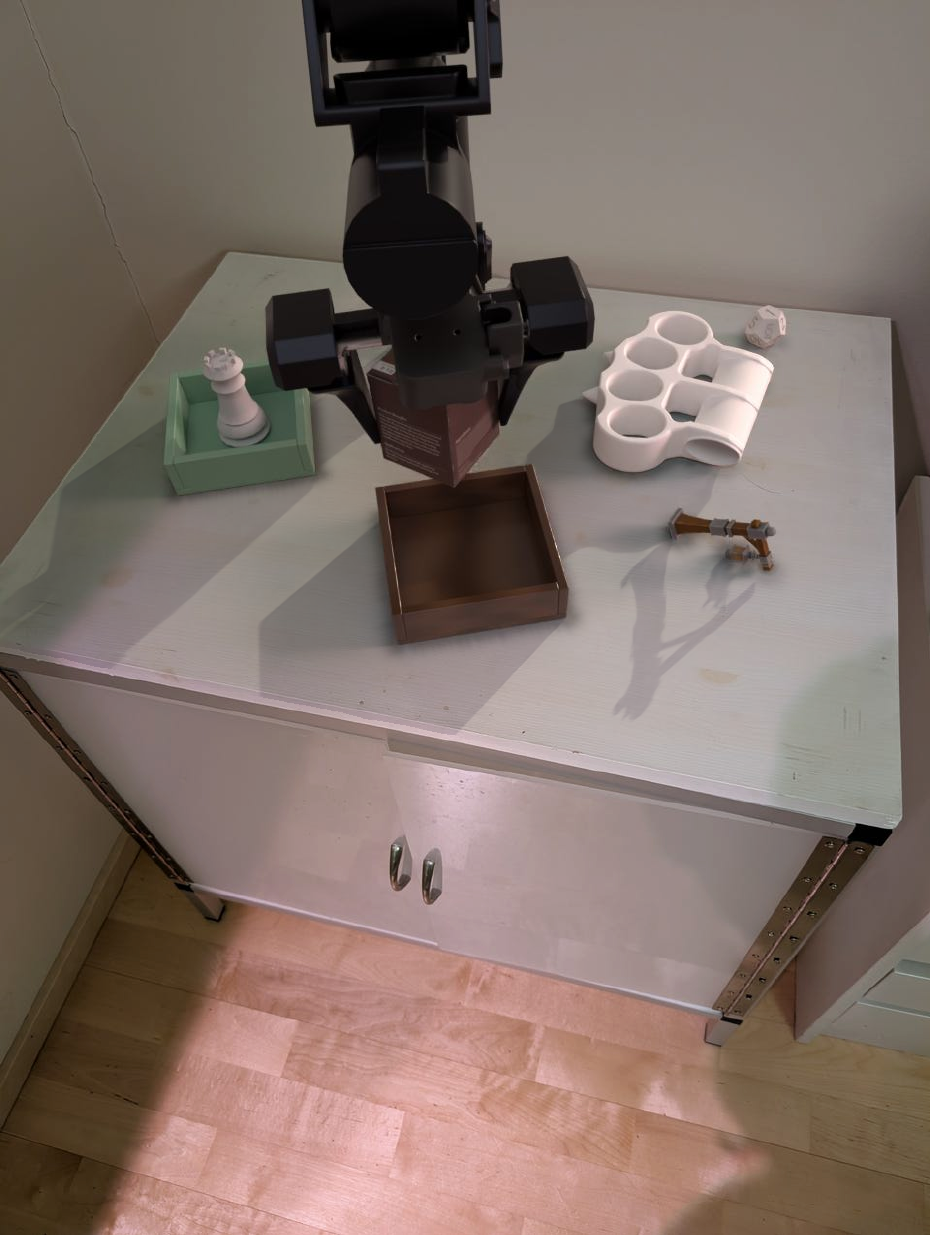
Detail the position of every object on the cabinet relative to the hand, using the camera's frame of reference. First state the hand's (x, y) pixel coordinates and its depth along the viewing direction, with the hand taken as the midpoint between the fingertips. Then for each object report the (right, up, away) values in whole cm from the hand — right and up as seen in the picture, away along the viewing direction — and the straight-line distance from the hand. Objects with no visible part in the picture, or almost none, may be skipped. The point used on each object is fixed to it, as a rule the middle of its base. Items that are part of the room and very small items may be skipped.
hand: (439, 430), depth 56 cm
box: (0, -1, +1) cm, 2 cm away
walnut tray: (+2, -9, +8) cm, 12 cm away
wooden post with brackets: (+21, -7, +8) cm, 24 cm away
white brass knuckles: (+20, +6, +17) cm, 27 cm away
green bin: (-18, +3, +18) cm, 25 cm away
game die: (+29, +13, +22) cm, 39 cm away
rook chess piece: (-17, +4, +17) cm, 25 cm away
